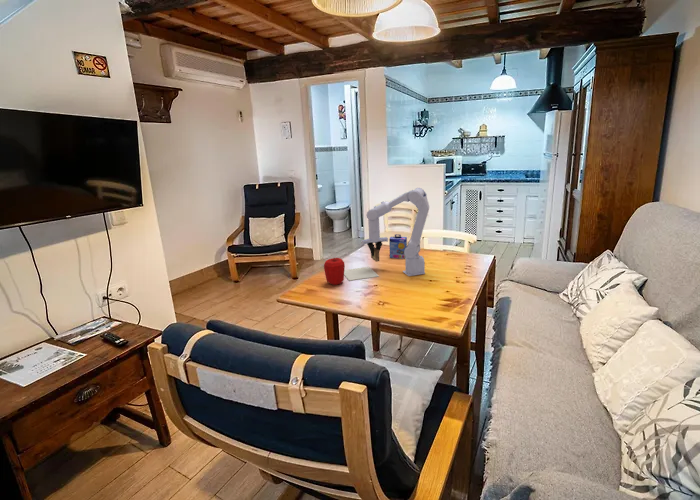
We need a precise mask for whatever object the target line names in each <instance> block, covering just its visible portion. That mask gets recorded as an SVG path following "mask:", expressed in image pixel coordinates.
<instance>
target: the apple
mask: <svg viewBox="0 0 700 500" xmlns="http://www.w3.org/2000/svg"><path fill="white" fill-rule="evenodd" d="M345 264H346V263H345V261H344V260H343V259H342V258H341V257H333V258H328V259H327V260H325V262H324V263H323V270H324V275H325V280H326V281H327V283H329V284H330V285H333V286H337V285H341V284H342V283H343V281H344V279H345V275H344V270H346V269H345Z"/></svg>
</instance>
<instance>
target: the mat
mask: <svg viewBox="0 0 700 500" xmlns="http://www.w3.org/2000/svg"><path fill="white" fill-rule="evenodd" d="M377 277H378V278H379V277H380V276H379V274H377V272H376V271H374V270H373V268H371V267H370V266H365V267H357V268H351V269H344V278H346V279H347V280H348V281H349V282H350V281H351V282H353V281H359V280H366V279H373V278H377Z"/></svg>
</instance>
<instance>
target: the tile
mask: <svg viewBox="0 0 700 500" xmlns="http://www.w3.org/2000/svg"><path fill="white" fill-rule="evenodd" d="M370 258H371V259H372V260H373V261H375V262H380V251H379V250H378V249H377V248H376V246H374V256H372V255H371V254H370Z"/></svg>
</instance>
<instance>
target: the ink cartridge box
mask: <svg viewBox="0 0 700 500" xmlns="http://www.w3.org/2000/svg"><path fill="white" fill-rule="evenodd" d="M388 241H389V245H388V246H389V259H401V260H403V259H405V254H404V250H405V248H406V247H407V246H408V237H407V236H402V235H401V234H394V236H390V237H389V238H388Z"/></svg>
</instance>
